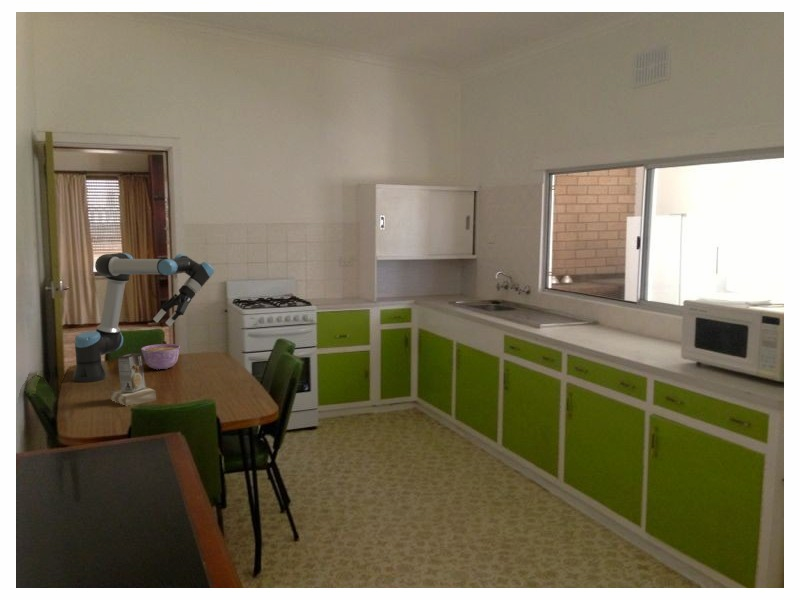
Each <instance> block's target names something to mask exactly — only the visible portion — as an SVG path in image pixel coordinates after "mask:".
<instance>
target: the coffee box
mask: <svg viewBox="0 0 800 600" xmlns="http://www.w3.org/2000/svg"><path fill="white" fill-rule="evenodd" d="M116 359H117V365H118V374H119V382H120V383H119V384H120V389H121V392H135V391H137V390H140V389H142V388H145V387H147V386H146V379H145V369H144V363H143V353H142V352H139V353H138V352H137V353H136V352H133V353H127V354H124V355H120V356H118V357H117V358H116Z"/></svg>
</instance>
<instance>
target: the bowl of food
mask: <svg viewBox="0 0 800 600" xmlns="http://www.w3.org/2000/svg"><path fill="white" fill-rule="evenodd" d="M180 349H181V345H179V344H175V343H174V344H173V343H161V344H160V343H158V344H151V345H145V346H143V347H141V349H140V350H141V353H142V358H143V360H144V362H145V364H146V365H147V366H148V367H149V368H151V369H153V370H155V369H156V370H155V371H157V370H158V369H159V370H158V371H161V370H160V369H165V370H169V369H170V368H171V367H173V366H175V364H176V363H177V362H178V358H179V355H180ZM168 368H169V369H168Z"/></svg>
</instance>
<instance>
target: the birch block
mask: <svg viewBox="0 0 800 600" xmlns="http://www.w3.org/2000/svg"><path fill="white" fill-rule="evenodd" d="M156 393H157V391H156V390H155V389H152V388H149V387H147V386H146V387H145V388H142V389H140V390H137V391H135V392H121V388H119V389H113V390H110V401H111V400H112V401H111V402H113V401H115V402H114V403H116V402H117V403H116V404H118V403H120V404H119V405H121V404H123V405H125V406H124V407H126V406H127V407H129V406H128V405H131V406H134V405H133V404H136V405H140V404H145V403H149V402H154V401H157V397H156V396H157V395H156ZM123 405H122V406H123Z"/></svg>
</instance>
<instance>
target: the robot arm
mask: <svg viewBox="0 0 800 600" xmlns="http://www.w3.org/2000/svg"><path fill="white" fill-rule="evenodd" d="M94 266H95V267H94V268H95V270H96V273H98V275H99V276H102V277H103V278H105V279H106V280H107V281H106V282H107V283H106V289H105V295H104V301H103V307H102V311H101V312H102V314H101V318H100V324H98V325H97V326H96V329H95V331H94V330H93V331H90V330H89V331H85V332H80V333H78V334H77V335H76V336H75V339H74V348H75V349H74V350H75V363H76V364H75V368H74V371H73V375H72V380H73V381H74V382H76V383H77V382H78V383H92V382H98V381H102V380H105V379H106V378H107V374H106V373H107V372H106V370H105V368H104V365H103V364H102V355H106V354H112V353H114V352H116V351H118V350H119V349H120V348H121V347H122V346H123V344H124V336H123V334H122V333H123V332H121V328H120V327H119V323H120V316H121V311H122V304H123V299H124V294H125V287H126V284H127V283H128V282H130V277H131V275H164V276H173V275H177V274H186V275H188V276H189V278H187V280H186V281H185V282H184V283H183V285H182V286H181V287H180V288H179V289H178V293H179V294H176V293H175V294H174V295H173V296H172V297H170V298H169V299H168V300H167V301H165V303H163V304H162V305H160V308H161V309H160V310H159V311H158V313H156V315H155V316H154V317H153V319H152V320H153V321H154V322H155V323H159V321H161V319H162V318H163V317H164V316H165V314H167V312H168V311H169V310H170V309H172V308H174V307H175V306H177V307H176V310H174V312H173V313H172V314H171V315H170V317H169V318H168V319H167V320H166V321H165V324H166V325H167V326H168V327H171V326H172V325H173V324H174V322H175V321H176V320H177V319H178V318H179V317H180V316H183V315H184V314H185V312H186V311H187V309H188V307H189V304H190V303H191V302H192V300H193V298H194V297H195V296H196V294H197V293H198V292H199V291H200V290H201V289H202V288H203V286H204V285H205V284H206V283H207V282H208V280H209V279H210V278H211V277H212V275H213V274H214V273H215V269H214V267H213V266H212V265H211V264H209V263H208V262H206V261H203V262H201V263H198V262H197V261H195V260H193V259H192V258H191V257H189V256H187V255H185V254H183V253H178V254H177V255H176V256H175V257H174V258H134V257H133V256H132V255H131V254H129V253H126V252H117V253H116V252H115V253H106V254H105V253H104V254H102V255H100V256H98V257H97V258H96V261H95V262H94Z"/></svg>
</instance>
